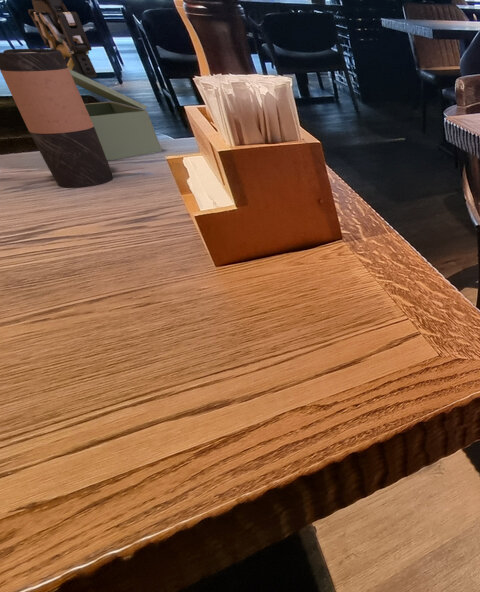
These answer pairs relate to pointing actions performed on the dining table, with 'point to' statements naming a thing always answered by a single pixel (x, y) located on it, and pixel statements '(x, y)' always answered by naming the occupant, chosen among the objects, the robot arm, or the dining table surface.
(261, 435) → the dining table surface
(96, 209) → the dining table surface
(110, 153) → the chest
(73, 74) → the lid
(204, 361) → the dining table surface
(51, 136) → the travel mug
